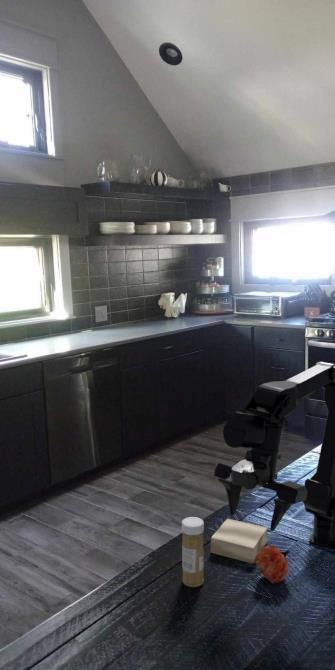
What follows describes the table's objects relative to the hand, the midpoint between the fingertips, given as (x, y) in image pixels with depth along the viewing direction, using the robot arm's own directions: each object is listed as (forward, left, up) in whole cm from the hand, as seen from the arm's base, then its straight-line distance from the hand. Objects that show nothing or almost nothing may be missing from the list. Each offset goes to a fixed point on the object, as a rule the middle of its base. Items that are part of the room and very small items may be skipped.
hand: (251, 522), depth 115 cm
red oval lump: (-3, +3, -14) cm, 14 cm away
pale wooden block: (-12, -7, -14) cm, 19 cm away
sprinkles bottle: (+5, -11, -13) cm, 18 cm away
